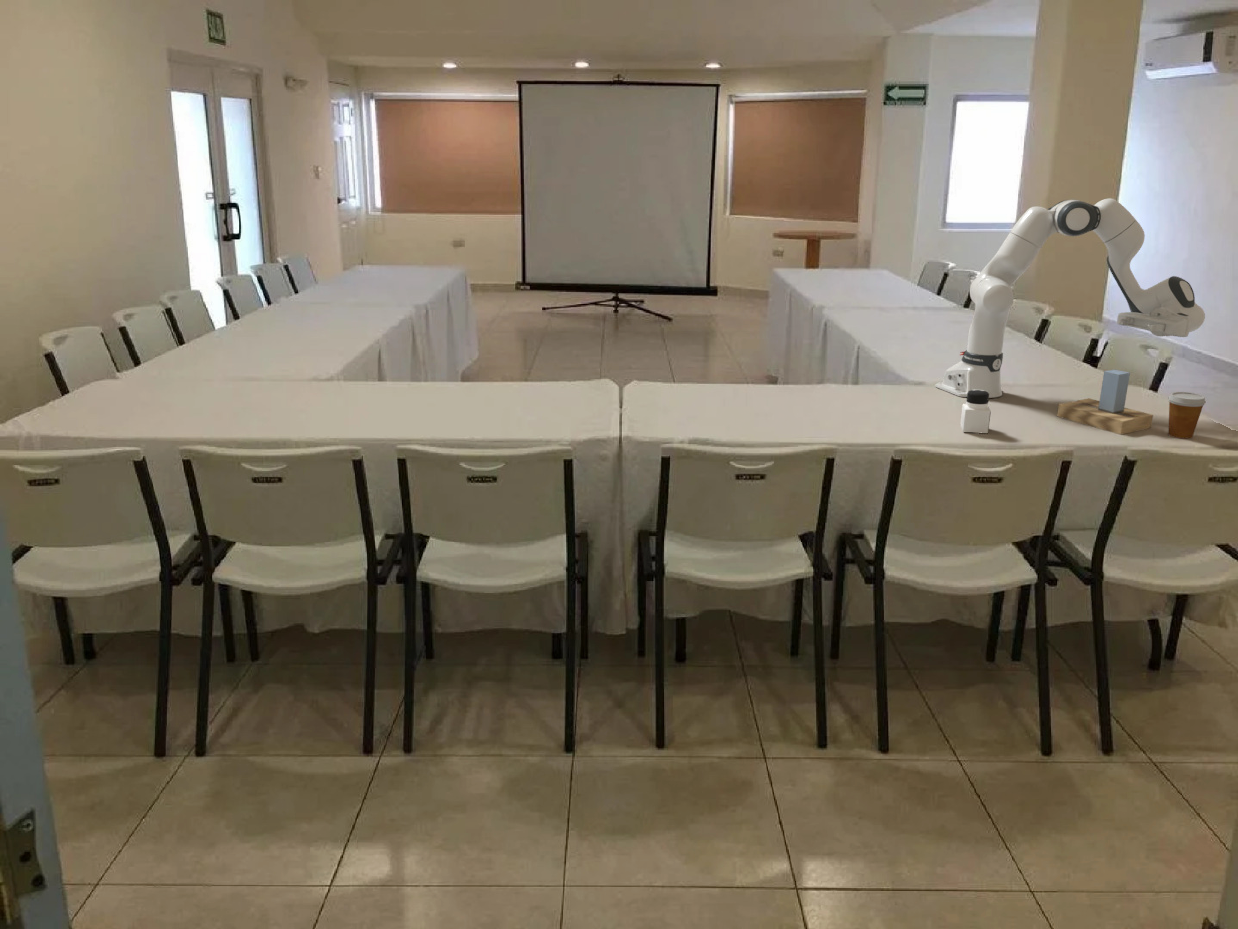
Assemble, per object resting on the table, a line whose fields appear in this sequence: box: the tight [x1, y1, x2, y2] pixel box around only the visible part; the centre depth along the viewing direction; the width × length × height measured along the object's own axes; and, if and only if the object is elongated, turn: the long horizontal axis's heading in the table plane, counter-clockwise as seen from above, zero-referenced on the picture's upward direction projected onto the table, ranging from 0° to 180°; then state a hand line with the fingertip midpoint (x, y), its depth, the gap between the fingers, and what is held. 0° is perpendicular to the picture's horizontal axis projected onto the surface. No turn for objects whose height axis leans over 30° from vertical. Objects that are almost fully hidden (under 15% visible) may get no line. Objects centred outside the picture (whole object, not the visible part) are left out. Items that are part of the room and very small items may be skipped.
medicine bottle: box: [959, 390, 991, 434], centre depth 298 cm, size 7×7×12 cm
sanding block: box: [1098, 369, 1131, 414], centre depth 303 cm, size 5×5×12 cm
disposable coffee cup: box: [1167, 391, 1206, 439], centre depth 293 cm, size 10×10×12 cm
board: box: [1056, 398, 1154, 435], centre depth 307 cm, size 22×14×4 cm, turn 29°
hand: (1135, 325), depth 307 cm, fingers open, 8 cm apart
